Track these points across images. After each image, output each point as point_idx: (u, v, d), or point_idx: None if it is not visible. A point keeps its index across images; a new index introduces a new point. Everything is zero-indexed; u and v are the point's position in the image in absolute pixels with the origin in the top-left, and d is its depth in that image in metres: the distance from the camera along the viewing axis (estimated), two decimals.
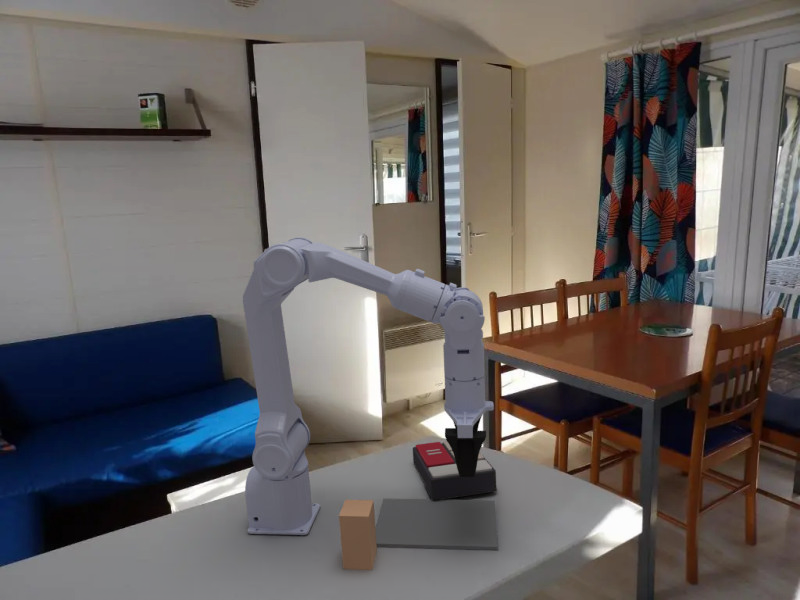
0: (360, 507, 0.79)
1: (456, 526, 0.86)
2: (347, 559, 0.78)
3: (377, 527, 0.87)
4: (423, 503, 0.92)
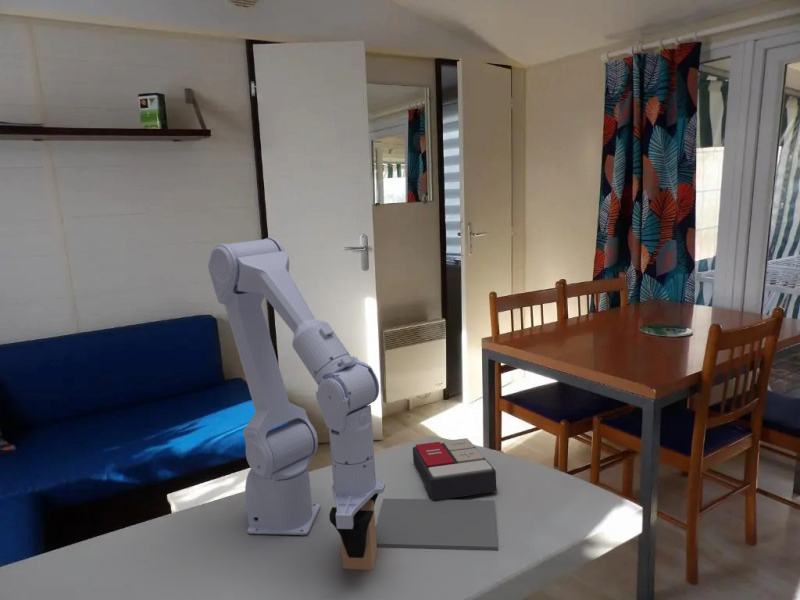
0: None
1: (456, 526, 0.86)
2: (347, 559, 0.78)
3: (377, 527, 0.87)
4: (423, 503, 0.92)
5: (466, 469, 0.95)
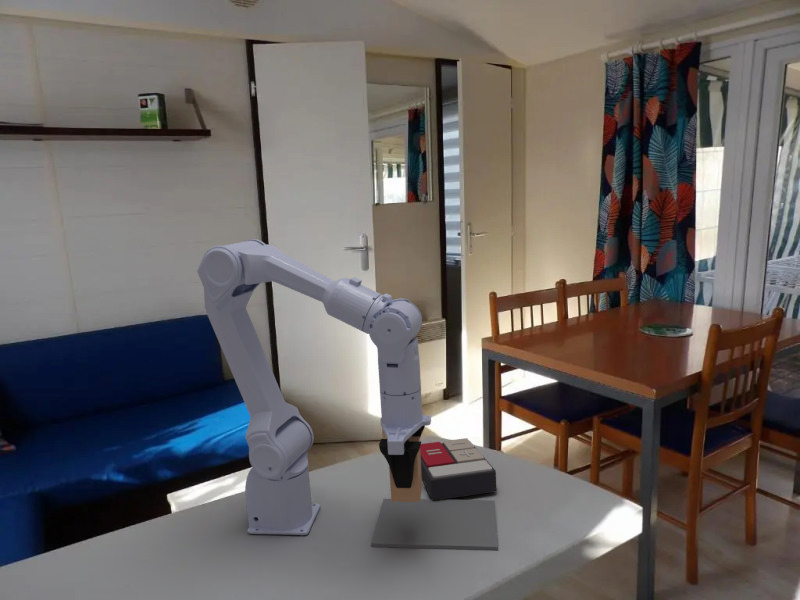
0: None
1: (456, 526, 0.86)
2: (395, 492, 0.81)
3: (377, 527, 0.87)
4: (423, 503, 0.92)
5: (466, 469, 0.95)
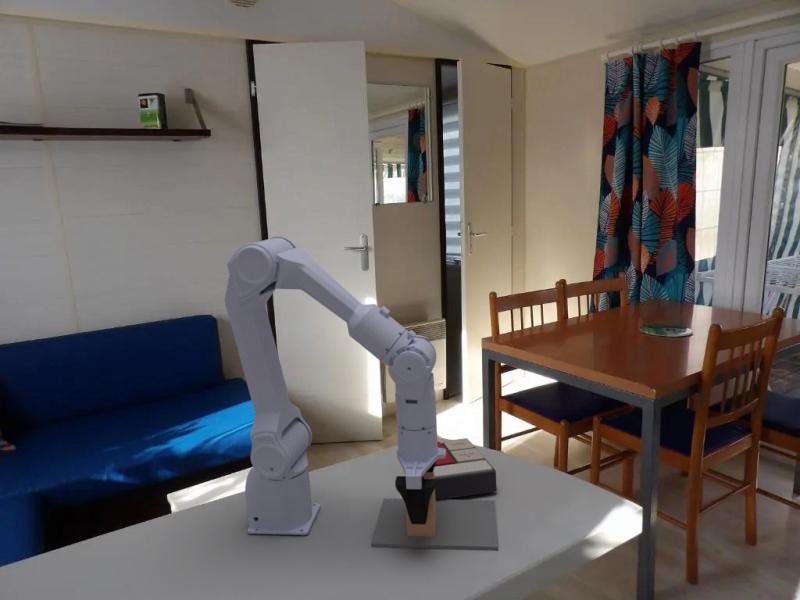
0: None
1: (456, 526, 0.86)
2: (411, 527, 0.84)
3: (377, 527, 0.87)
4: None
5: (466, 469, 0.95)
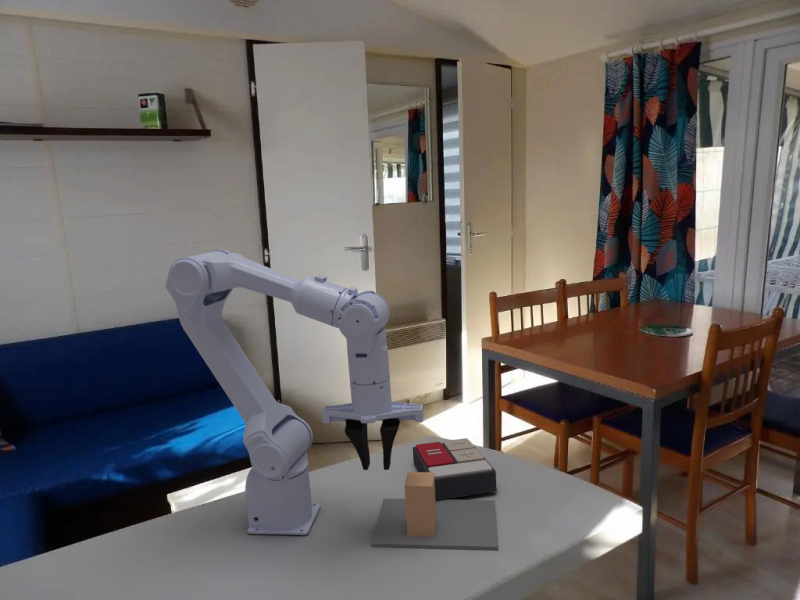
0: (422, 478, 0.84)
1: (456, 526, 0.86)
2: (411, 527, 0.84)
3: (377, 527, 0.87)
4: None
5: (466, 469, 0.95)
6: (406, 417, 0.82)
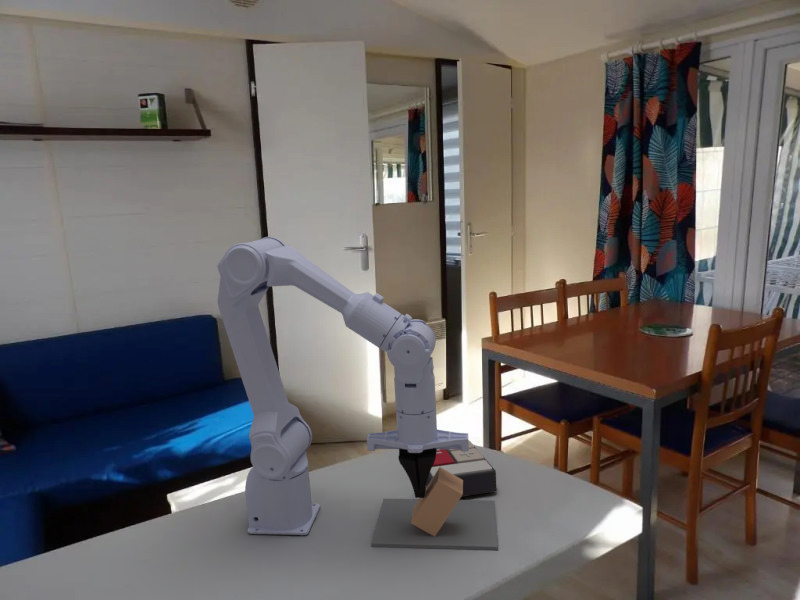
0: (453, 481, 0.84)
1: (456, 526, 0.86)
2: (419, 518, 0.83)
3: (377, 527, 0.87)
4: None
5: (466, 469, 0.95)
6: (451, 446, 0.82)
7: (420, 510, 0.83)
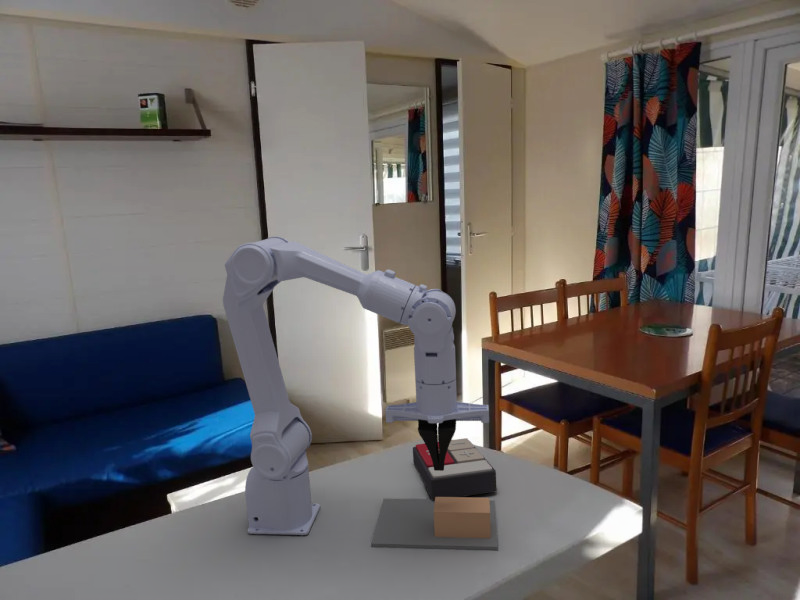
0: None
1: None
2: (443, 516, 0.83)
3: (377, 527, 0.87)
4: (423, 503, 0.92)
5: (466, 469, 0.95)
6: (472, 417, 0.81)
7: (451, 513, 0.83)
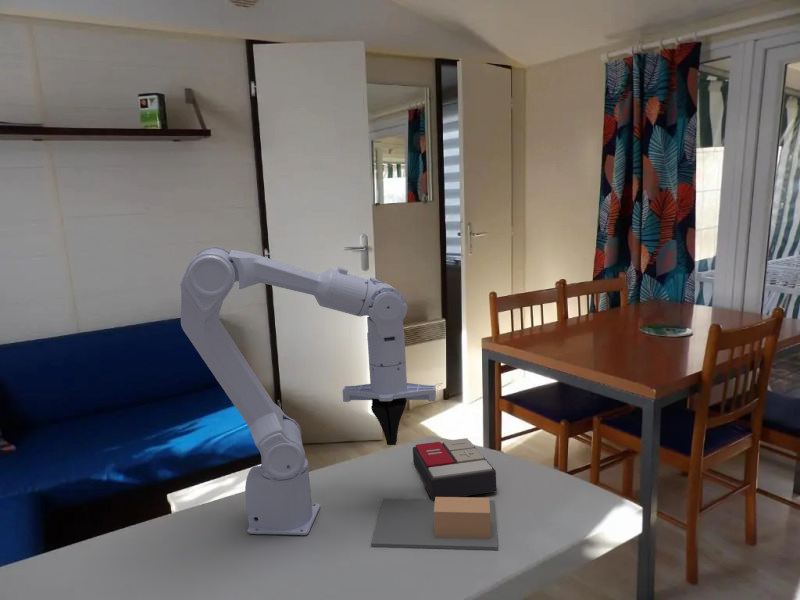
0: None
1: None
2: (443, 516, 0.83)
3: (377, 527, 0.87)
4: (423, 503, 0.92)
5: (466, 469, 0.95)
6: (420, 397, 0.90)
7: (451, 513, 0.83)
